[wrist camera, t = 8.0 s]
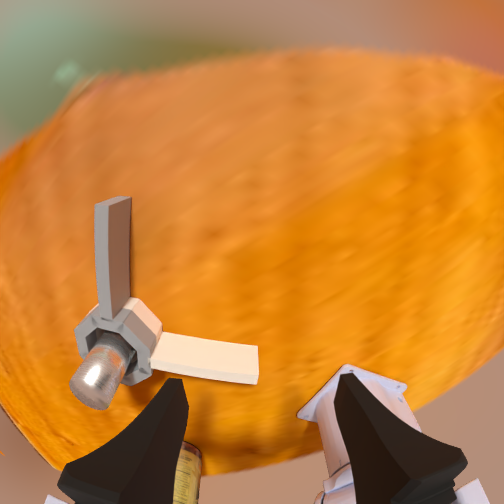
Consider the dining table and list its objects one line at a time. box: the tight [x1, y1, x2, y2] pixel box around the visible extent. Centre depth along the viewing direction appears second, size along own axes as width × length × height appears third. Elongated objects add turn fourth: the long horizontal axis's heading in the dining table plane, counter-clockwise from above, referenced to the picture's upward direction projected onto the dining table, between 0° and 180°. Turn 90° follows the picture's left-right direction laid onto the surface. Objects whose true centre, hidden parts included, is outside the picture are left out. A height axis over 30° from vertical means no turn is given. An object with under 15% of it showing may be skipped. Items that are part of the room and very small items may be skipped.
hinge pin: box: [69, 330, 136, 410], centre depth 18 cm, size 3×3×8 cm
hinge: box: [74, 196, 259, 386], centre depth 19 cm, size 14×14×4 cm
